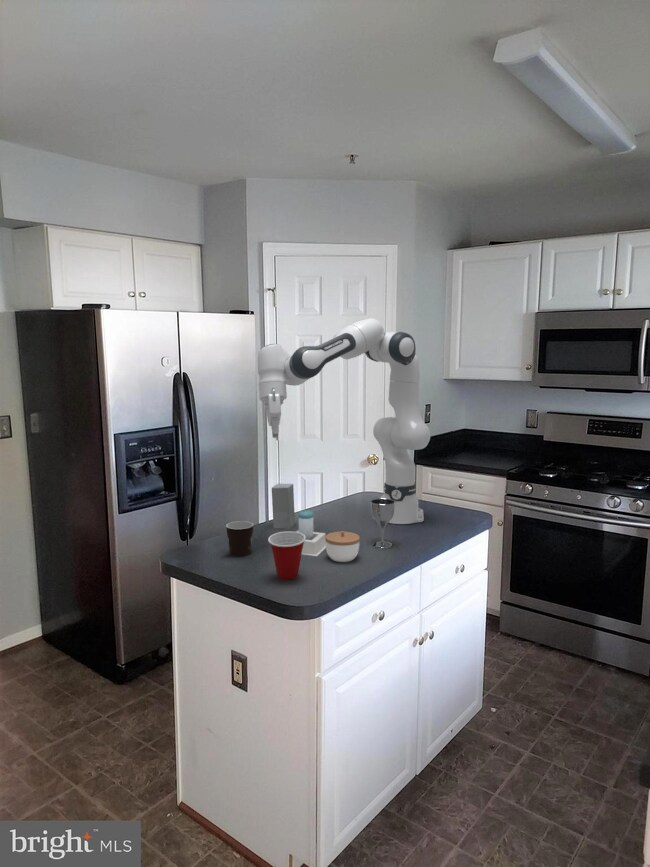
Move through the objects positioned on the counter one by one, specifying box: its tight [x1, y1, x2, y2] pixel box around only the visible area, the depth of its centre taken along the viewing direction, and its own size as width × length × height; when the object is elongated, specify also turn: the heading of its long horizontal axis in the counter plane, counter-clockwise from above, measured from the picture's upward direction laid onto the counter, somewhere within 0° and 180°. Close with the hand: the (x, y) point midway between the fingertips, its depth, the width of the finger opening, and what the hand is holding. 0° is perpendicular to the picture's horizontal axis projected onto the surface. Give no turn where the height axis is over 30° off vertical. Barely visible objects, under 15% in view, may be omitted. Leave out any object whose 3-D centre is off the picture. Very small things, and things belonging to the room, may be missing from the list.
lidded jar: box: [325, 530, 361, 563], centre depth 188 cm, size 11×11×9 cm
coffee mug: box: [225, 520, 254, 558], centre depth 194 cm, size 12×9×10 cm
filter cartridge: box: [298, 509, 314, 540], centre depth 197 cm, size 5×5×12 cm
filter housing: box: [295, 529, 327, 557], centre depth 198 cm, size 12×12×5 cm
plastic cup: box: [267, 530, 306, 581], centre depth 175 cm, size 11×11×12 cm
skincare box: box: [271, 483, 296, 530], centre depth 222 cm, size 8×7×16 cm
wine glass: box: [370, 497, 395, 549], centre depth 203 cm, size 8×8×15 cm
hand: (275, 435), depth 195 cm, fingers open, 8 cm apart
